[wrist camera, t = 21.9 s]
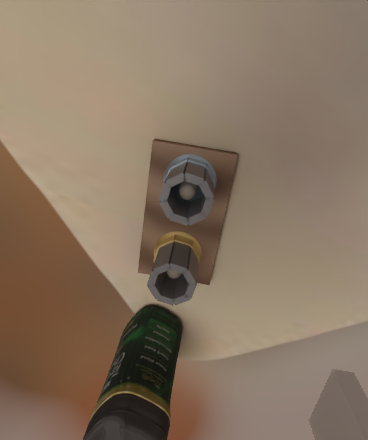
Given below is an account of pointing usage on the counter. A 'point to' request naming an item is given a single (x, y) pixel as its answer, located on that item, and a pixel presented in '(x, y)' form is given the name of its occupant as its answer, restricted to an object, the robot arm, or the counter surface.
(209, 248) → the pin board
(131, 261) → the counter surface
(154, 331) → the coffee jar
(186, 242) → the sleeve ochre
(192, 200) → the grey octagonal sleeve
